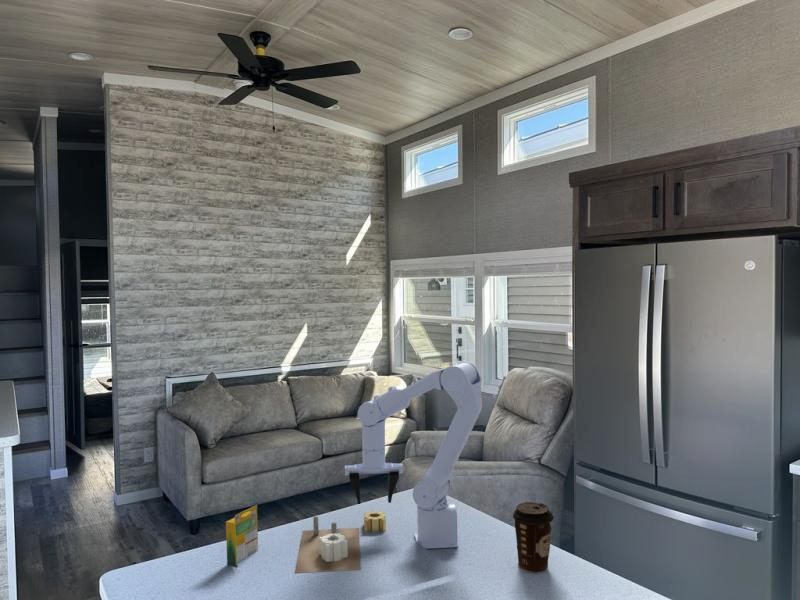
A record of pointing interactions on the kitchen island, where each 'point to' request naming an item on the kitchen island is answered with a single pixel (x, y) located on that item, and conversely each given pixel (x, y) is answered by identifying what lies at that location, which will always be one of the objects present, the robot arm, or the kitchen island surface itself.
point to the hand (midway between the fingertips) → (374, 502)
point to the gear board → (312, 559)
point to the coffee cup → (533, 536)
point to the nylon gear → (333, 547)
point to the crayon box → (242, 536)
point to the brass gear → (374, 521)
